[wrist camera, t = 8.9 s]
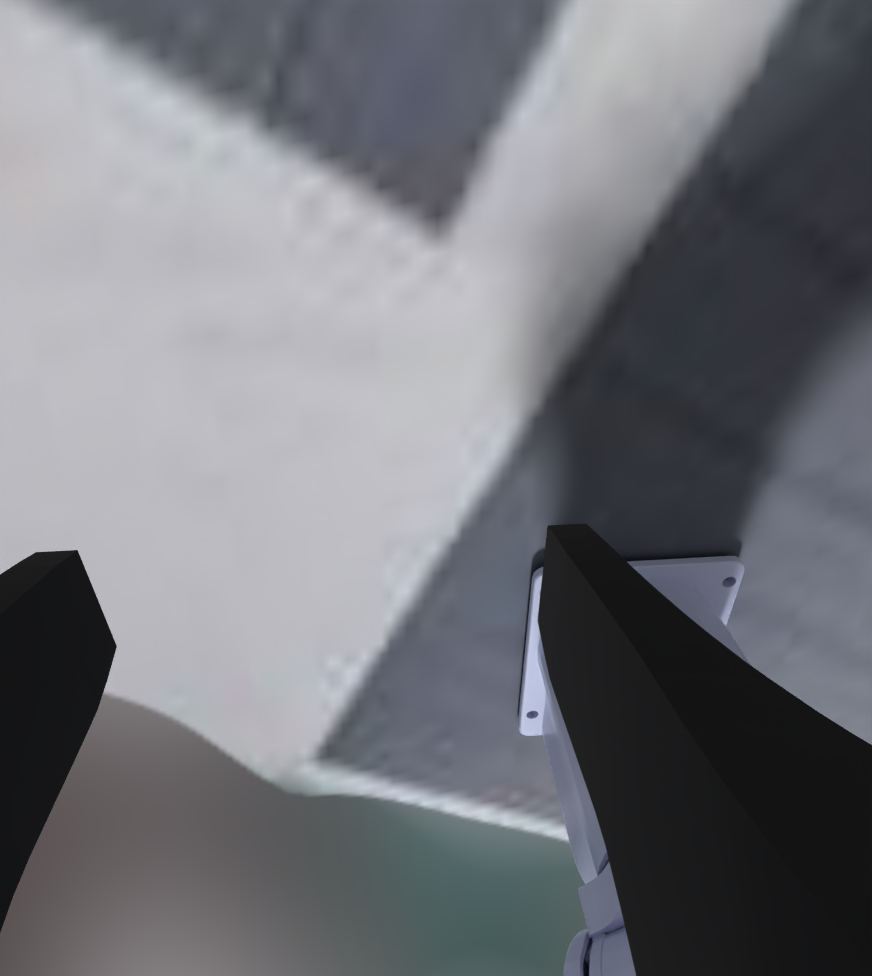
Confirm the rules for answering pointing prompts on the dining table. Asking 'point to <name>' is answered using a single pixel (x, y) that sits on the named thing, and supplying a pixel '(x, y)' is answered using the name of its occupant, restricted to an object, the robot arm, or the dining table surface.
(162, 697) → the dining table surface
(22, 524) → the dining table surface
